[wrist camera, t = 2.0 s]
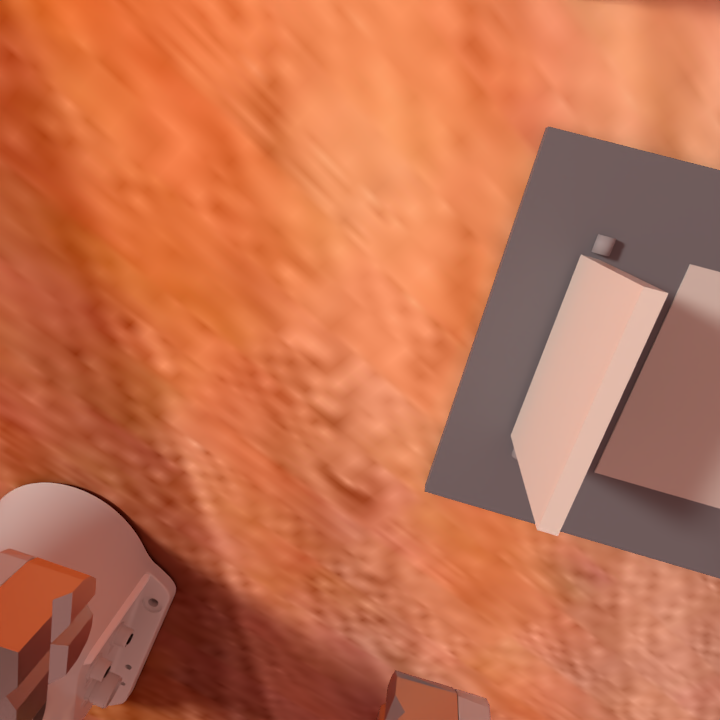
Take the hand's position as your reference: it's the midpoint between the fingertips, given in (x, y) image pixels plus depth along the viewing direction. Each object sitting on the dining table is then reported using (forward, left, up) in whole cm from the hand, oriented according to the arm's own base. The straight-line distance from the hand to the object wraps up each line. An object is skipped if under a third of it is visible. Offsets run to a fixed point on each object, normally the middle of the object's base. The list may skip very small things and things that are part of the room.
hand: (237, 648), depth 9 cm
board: (0, -17, -27) cm, 32 cm away
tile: (0, -11, -26) cm, 28 cm away
